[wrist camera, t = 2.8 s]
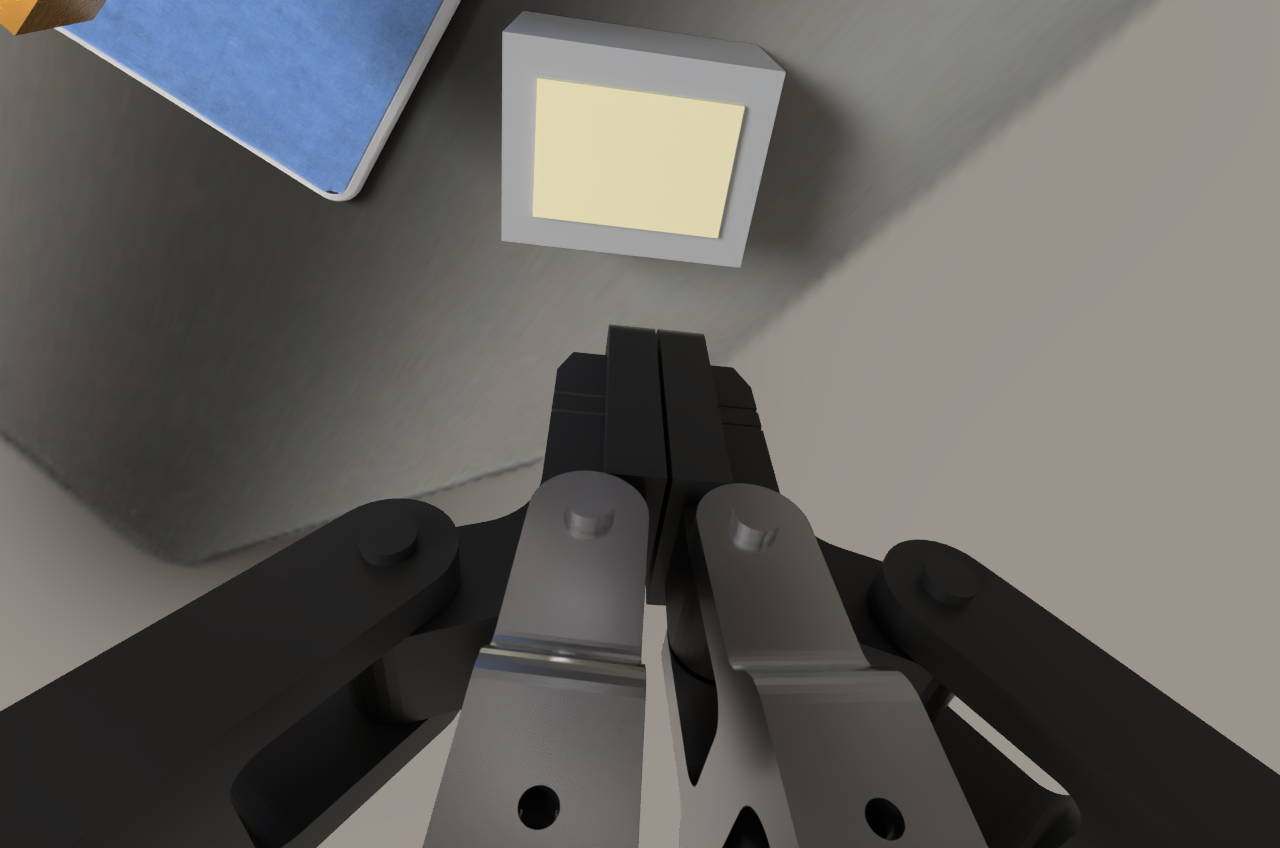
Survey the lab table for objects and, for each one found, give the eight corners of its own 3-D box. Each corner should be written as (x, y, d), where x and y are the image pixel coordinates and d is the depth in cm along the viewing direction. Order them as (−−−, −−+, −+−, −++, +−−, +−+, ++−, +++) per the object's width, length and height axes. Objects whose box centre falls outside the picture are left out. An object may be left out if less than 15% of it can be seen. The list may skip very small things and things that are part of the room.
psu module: (757, 45, 23) (787, 73, 19) (722, 215, 27) (740, 270, 22) (523, 10, 22) (501, 32, 18) (519, 190, 26) (500, 242, 22)
